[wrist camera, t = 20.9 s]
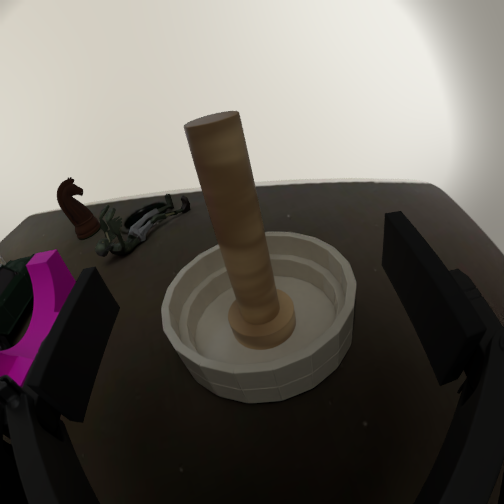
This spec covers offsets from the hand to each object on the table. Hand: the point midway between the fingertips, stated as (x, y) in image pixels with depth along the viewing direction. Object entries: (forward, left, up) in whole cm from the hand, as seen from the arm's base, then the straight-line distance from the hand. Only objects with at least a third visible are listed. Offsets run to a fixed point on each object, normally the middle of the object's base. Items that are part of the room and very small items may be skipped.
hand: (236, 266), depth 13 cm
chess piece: (+20, -36, -10) cm, 42 cm away
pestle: (-1, -5, -9) cm, 11 cm away
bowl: (-1, -5, -10) cm, 11 cm away
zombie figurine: (+9, -27, -10) cm, 30 cm away
